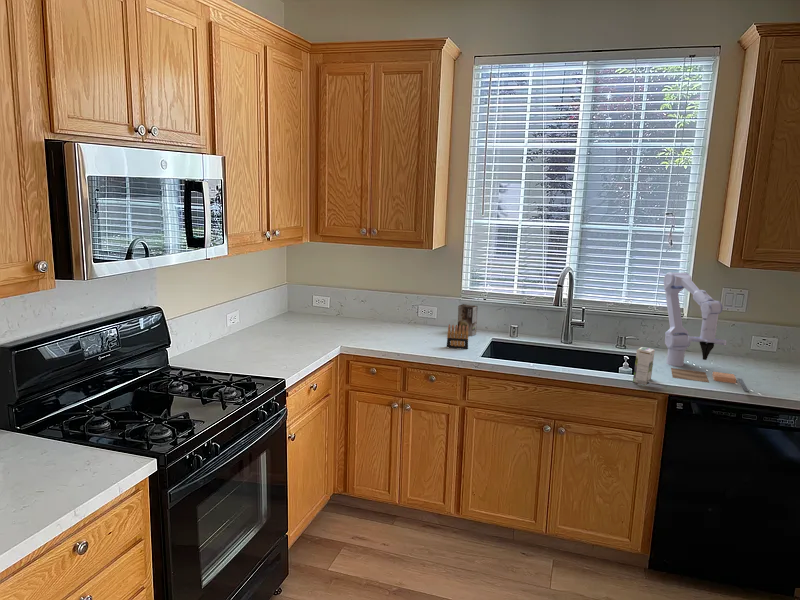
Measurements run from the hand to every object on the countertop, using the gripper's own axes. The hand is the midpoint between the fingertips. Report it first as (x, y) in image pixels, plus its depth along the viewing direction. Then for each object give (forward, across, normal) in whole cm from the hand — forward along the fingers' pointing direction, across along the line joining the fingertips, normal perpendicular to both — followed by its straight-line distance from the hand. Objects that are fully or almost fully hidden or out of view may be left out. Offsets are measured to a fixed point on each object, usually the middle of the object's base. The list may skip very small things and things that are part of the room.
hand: (704, 359), depth 251 cm
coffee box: (+10, -114, +29) cm, 118 cm away
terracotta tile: (+9, +8, -1) cm, 12 cm away
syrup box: (+9, -24, -17) cm, 31 cm away
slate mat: (+9, +9, -1) cm, 13 cm away
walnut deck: (+9, -5, -1) cm, 10 cm away
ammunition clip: (+10, -110, -2) cm, 111 cm away
